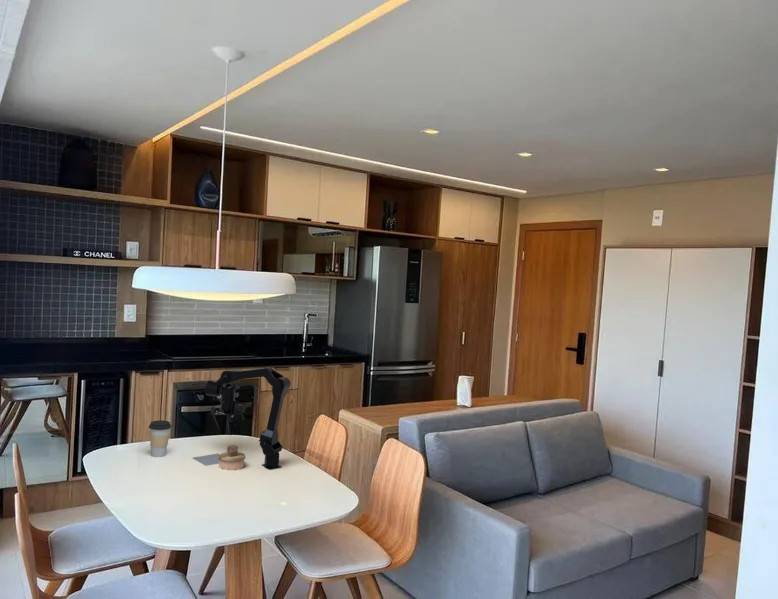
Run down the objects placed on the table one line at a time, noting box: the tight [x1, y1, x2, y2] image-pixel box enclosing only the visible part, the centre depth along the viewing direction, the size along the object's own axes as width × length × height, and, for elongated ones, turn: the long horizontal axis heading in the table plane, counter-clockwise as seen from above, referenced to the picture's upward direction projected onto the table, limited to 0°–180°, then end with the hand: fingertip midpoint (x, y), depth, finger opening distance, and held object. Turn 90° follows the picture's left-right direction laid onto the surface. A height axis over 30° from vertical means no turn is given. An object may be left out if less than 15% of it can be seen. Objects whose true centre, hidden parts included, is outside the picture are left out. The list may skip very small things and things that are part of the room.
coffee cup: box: [148, 419, 172, 458], centre depth 260 cm, size 9×9×15 cm
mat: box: [192, 453, 220, 467], centre depth 260 cm, size 13×13×1 cm
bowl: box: [219, 460, 245, 471], centre depth 252 cm, size 10×10×4 cm
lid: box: [218, 444, 246, 462], centre depth 252 cm, size 11×11×5 cm
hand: (225, 432), depth 263 cm, fingers open, 9 cm apart
